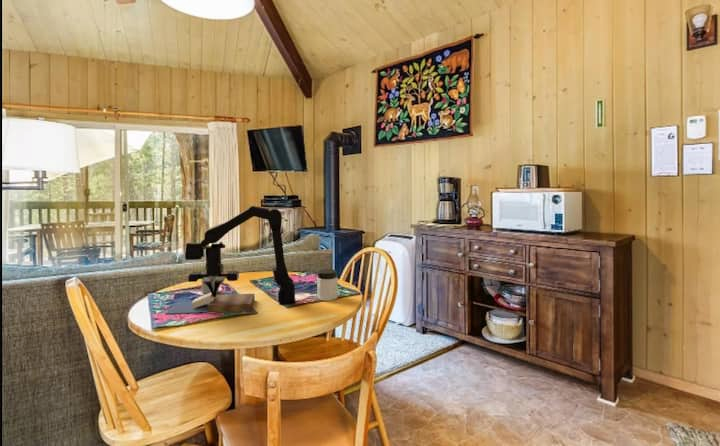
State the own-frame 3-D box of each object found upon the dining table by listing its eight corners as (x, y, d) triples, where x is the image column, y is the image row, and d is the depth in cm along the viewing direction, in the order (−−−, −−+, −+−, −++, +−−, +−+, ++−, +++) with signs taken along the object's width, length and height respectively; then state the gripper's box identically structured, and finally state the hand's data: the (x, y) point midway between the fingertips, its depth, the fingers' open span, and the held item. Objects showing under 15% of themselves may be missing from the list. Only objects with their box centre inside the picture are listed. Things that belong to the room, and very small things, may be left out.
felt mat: (215, 301, 179) (215, 300, 179) (208, 312, 165) (208, 311, 165) (176, 303, 177) (176, 302, 177) (165, 314, 163) (165, 313, 163)
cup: (205, 295, 188) (204, 275, 187) (197, 290, 195) (196, 271, 194) (221, 292, 193) (220, 273, 191) (212, 287, 200) (212, 269, 199)
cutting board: (254, 300, 181) (254, 293, 181) (250, 311, 167) (250, 303, 167) (215, 301, 179) (215, 294, 179) (208, 312, 165) (208, 305, 165)
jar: (315, 296, 188) (315, 269, 186) (332, 294, 191) (332, 268, 189) (321, 302, 179) (321, 274, 178) (339, 299, 183) (339, 272, 181)
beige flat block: (216, 296, 175) (213, 291, 175) (213, 300, 169) (210, 295, 169) (197, 303, 175) (195, 298, 174) (193, 308, 169) (191, 303, 168)
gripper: (240, 254, 179) (241, 290, 181) (194, 255, 177) (195, 291, 178) (236, 260, 168) (237, 298, 170) (187, 261, 166) (188, 300, 167)
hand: (214, 297), depth 172 cm, fingers closed
